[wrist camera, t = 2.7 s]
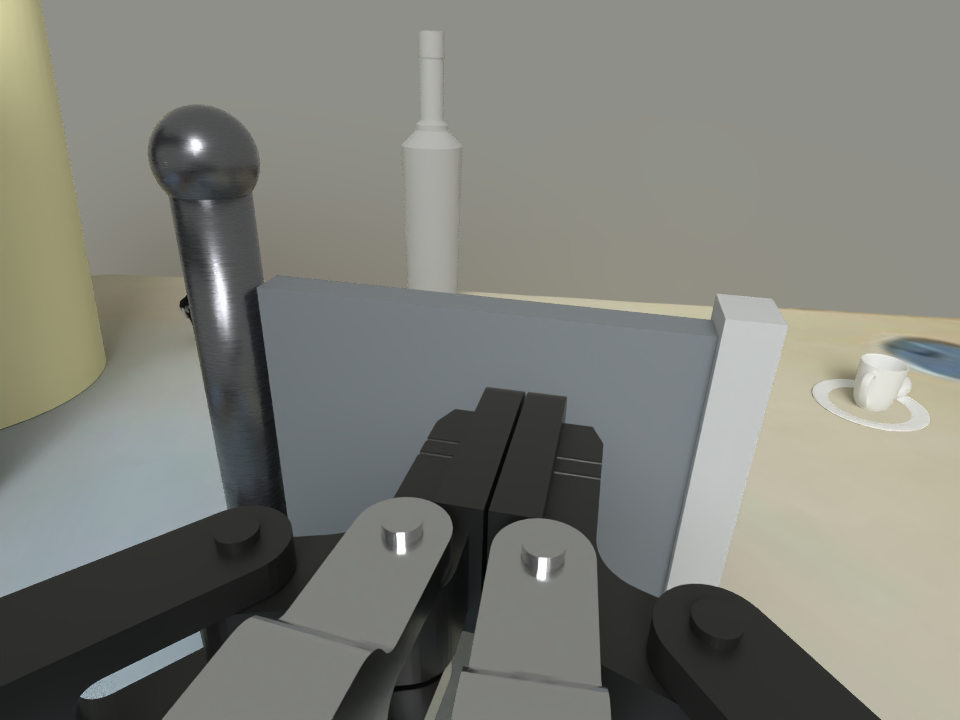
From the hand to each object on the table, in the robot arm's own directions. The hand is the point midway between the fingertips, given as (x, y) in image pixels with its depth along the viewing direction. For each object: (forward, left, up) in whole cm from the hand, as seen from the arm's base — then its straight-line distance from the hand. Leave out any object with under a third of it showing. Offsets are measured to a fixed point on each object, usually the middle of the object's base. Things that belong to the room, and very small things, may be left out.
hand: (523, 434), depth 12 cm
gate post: (-16, -2, -17) cm, 23 cm away
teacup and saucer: (-8, +44, -17) cm, 48 cm away
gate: (-9, +6, -15) cm, 19 cm away
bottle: (-40, +20, -17) cm, 48 cm away
